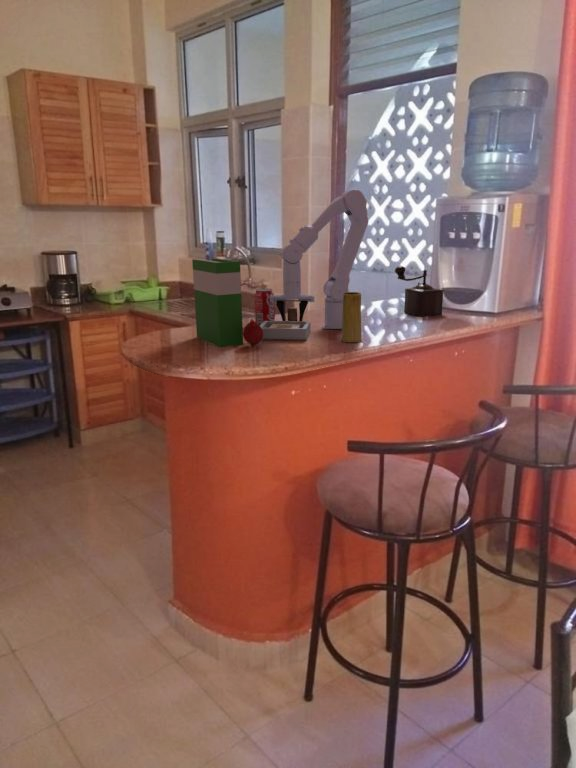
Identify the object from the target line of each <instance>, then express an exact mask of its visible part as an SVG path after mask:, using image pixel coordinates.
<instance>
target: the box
mask: <svg viewBox="0 0 576 768" xmlns="http://www.w3.org/2000/svg"><path fill="white" fill-rule="evenodd" d="M260 327H261V328H262V330H263V338H262V340H261V341H298V342H299V341H301V342H302V341H303V342H304V341H305V340H306V341H308V337H309V336H310V334H311V321H309V320H307V321H306V320H305V321H303V320H302V321H299V320H297V321H288V320H286V321H282V320H275V321H264V322H263V323H262V324H261V325H260ZM306 341H305V342H306Z"/></svg>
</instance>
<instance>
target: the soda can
mask: <svg viewBox="0 0 576 768" xmlns="http://www.w3.org/2000/svg"><path fill="white" fill-rule="evenodd" d="M271 295H275V294H274V292H273V289H272V288H257V289H255V292H254V296H253V297H254V298H253V299H254V301H253V302H254V321H255V322H256V323H258V324H260V325H261V324H262V323H263V322H264V321H276V319H275V318H276V302H270V296H271Z"/></svg>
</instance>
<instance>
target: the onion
mask: <svg viewBox="0 0 576 768" xmlns="http://www.w3.org/2000/svg"><path fill="white" fill-rule="evenodd" d="M249 320H250V321H249V322H248V323H247V324H246V325H245V326H244V327H243V340H244V341H246V342H247V343H248V344H249V345H250V346H251V347H256V345H258V344H259V343H260V342H261V341H263V340H262V338H263V330H262V328H261V327H260V325H259V324H258V323H256V322H255V319H254V318H250V319H249Z"/></svg>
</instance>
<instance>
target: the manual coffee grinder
mask: <svg viewBox="0 0 576 768" xmlns="http://www.w3.org/2000/svg"><path fill="white" fill-rule="evenodd" d="M405 272H406V267H405V266H402V265H400V266H397V267H395V268H394V273H395V274H396V275H397V280H401V281H406V282H411V281H416V280H418V279H422V278H423V280H422V283H420V282H417V285H415V286H412V287H411V288H404V307H403V313H404V314H406V315H410V316H413V317H418V318H421V317H422V318H424V317H426V318H427V317H434V316H435V317H436V316H442V314H443V300H444V298H443V297H444V289H439V288H434V287H433V286H432V285H430V284H428V283H426V280H427V275H428V274H427V272H428V270H427V269H424V270H423V273H422V274H421V275H419V276H415V277H411V278H410V277H409V278H406V276H405Z"/></svg>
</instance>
